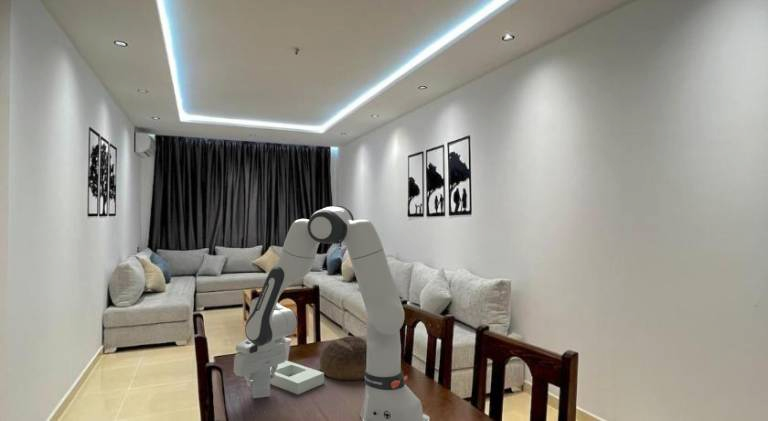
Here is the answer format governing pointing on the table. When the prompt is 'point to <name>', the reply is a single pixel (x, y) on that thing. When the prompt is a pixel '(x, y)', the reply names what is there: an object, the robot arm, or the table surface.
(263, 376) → the skincare box
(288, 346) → the smoothie
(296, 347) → the table surface
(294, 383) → the white rectangular holder
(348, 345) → the bread
